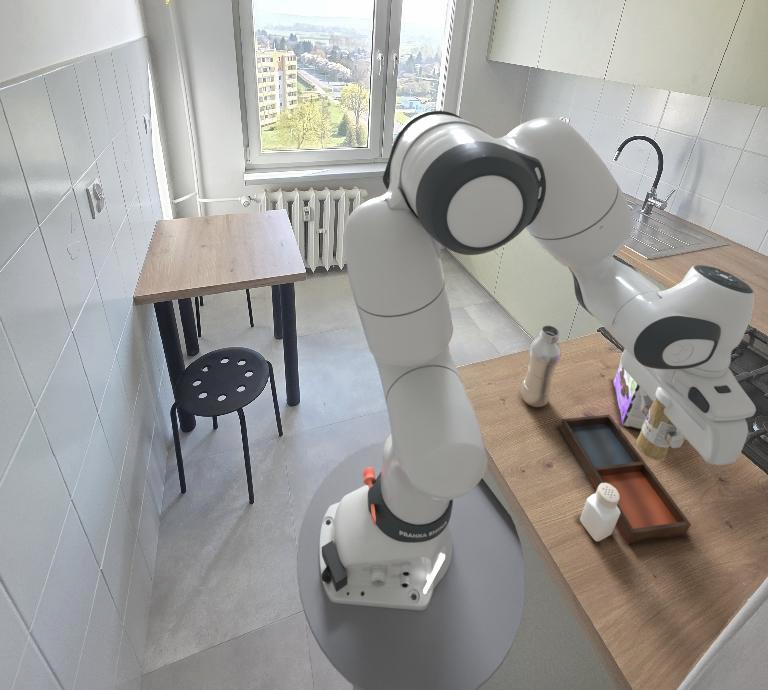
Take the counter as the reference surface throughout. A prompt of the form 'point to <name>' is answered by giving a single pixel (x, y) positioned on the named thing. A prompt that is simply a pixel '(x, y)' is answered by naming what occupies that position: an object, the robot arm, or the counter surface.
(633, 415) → the candy box
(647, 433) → the sprinkles bottle
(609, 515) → the pepper shaker
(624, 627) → the counter surface
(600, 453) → the tray
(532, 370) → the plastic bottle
